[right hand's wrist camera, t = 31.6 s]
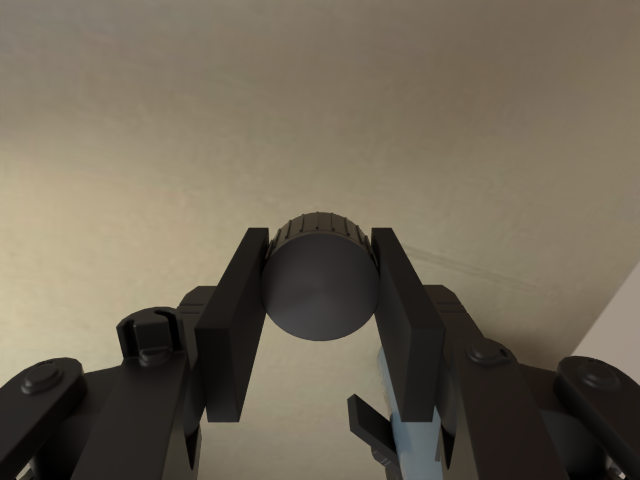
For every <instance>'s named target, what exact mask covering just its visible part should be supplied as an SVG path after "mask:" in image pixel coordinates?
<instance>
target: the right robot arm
mask: <svg viewBox="0 0 640 480" xmlns="http://www.w3.org/2000/svg"><path fill="white" fill-rule="evenodd" d="M268 247H269V229H268V228H248V230H247V232H246V234H245V236H244V237H243V239H242V241H241V243H240V245H239V247H238V248H237V250H236V252H235V254H234V256H233V258H232V260H231V261H230V263H229V265H228V267H227V269H226V271H225V272H224V274H223V276H222V278H221V280H220V282H219V283H218V285H217V286H198V287H196V288H195V289H193V290H192V291H190V292H189V293H187V294H186V295H185V297H184V298H183V300H182V301H181V303H180V304H179V306H178V307H177V308H176V309H174V308H171V307H153V308H147V309H143V310H140V311H138V312H135V313H132V314H131V315H129V316H127V317H126V318H124V319H123V320H122V321H121V322H120V323H119V324H118V325H117V326H116V329H117V333H118V337H119V341H120V346H121V350H122V354H123V358H124V360H123V362H122V364H121V365H120V366H116V367H112V368H108V369H103V370H98V371H94V372H89V373H84V371H83V368H82V364H81V363H80V362H79V361H77V360H76V359H72V358H67V357H65V358H54V359H50V360H47V361H42V362H39V363H37V364H35V365H33V366H31V367H29V368H27V369H24V370H23V371H22V372H20V373H19V374H17V375H16V376H14V377H13V378H12V379H10V380H9V381H8V382H7V383H6V384H5V385H4V386H2V387H1V388H0V480H16V477H17V475H18V474H19V473H20V472H21V471H22V469H23V468H24V467H25V466H26V465H27V463H28V462H29V464H30V467H31V468H30V469H29V470H28V471H27V473H26V474H25V475H24V476H23V477H22V478H20V479H19V480H197V475H198V466H199V457H200V448H201V440H202V436H201V429H200V423H199V422H200V420H201V417H202V414H203V411H204V409H205V406H206V412H207V419H208V422H239V420H240V416H241V412H242V408H243V404H244V400H245V396H246V392H247V388H248V384H249V380H250V376H251V372H252V368H253V364H254V360H255V356H256V352H257V348H258V344H259V340H260V336H261V332H262V328H263V324H264V320H265V316H266V311H265V309H264V307H263V304H262V299H261V284H260V276H261V272H262V269H263V266H264V263H265V260H264V259H265V256H266V253H267V250H268ZM371 247H372V249H373V252H374V255H375V258H376V261H377V263H378V266H379V268H378V271H379V274H380V289H379V303H378V306H377V308H376V310H375V312H374V315H375V319H376V323H377V327H378V331H379V335H380V339H381V343H382V347H383V351H384V355H385V359H386V363H387V367H388V371H389V375H390V379H391V383H392V387H393V391H394V395H395V399H396V403H397V407H398V411H399V415H400V419H401V422H432V420H433V414H434V407H435V406H436V409H437V412H438V414H439V417H440V420H441V423H440V429H439V435H438V442H437V448H436V454H435V461H437V462H440V456H441V465H442V474H443V480H640V386H639V385H638V384H637V383H636V382H635V381H634V380H632V379H631V378H630V377H629V376H627V375H626V374H625V373H623V372H622V371H620V370H619V369H617V368H616V367H614V366H611V365H609V364H607V363H605V362H603V361H601V360H597V359H594V358H590V357H583V356H570V357H565V358H564V359H563V360H561V361H560V362H559V366H558V369H557V372H554V371H549V370H545V369H540V368H535V367H530V366H527V365H523V364H519V363H518V361H517V359H516V357H515V356H514V355H513V353H512V352H511V351H510V350H509V349H507V348H506V347H505V346H503V345H502V344H500V343H498V342H495V341H493V340H491V339H487V338H485V337H484V336H483V334H482V333H481V331H480V330H479V328H478V327H477V326H476V324H475V323H474V321H473V320H472V318H471V317H470V315H469V314H468V313H467V312H466V309H465V308H464V306H463V305H461V302H460V301H459V299H458V298H457V296H456V295H455V293H453V292H452V291H450V290H449V289H447V288H446V287H445V286H443V285H422V283H421V281H420V279H419V277H418V276H417V274H416V272H415V270H414V268H413V266H412V265H411V263H410V261H409V259H408V257H407V255H406V254H405V252H404V250H403V248H402V246H401V244H400V243H399V241H398V239H397V237H396V235H395V233H394V231H393V230H392V228H372V233H371ZM612 460H613V462H614V463H615V464H616V465H617V466H618V467H619V469H620V470H621V471H622V472H623V473H624V475H625V476H626V477H625V478H624V479H622V478H621V477H619V476H618V475H617V474H616V472H615V471H614V470H613V469H612V468H611V466H610V465H611V463H612Z"/></svg>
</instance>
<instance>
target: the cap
mask: <svg viewBox="0 0 640 480" xmlns="http://www.w3.org/2000/svg"><path fill="white" fill-rule="evenodd" d="M264 260H265V263H264V266H263V269H262V272H261V276H260V284H261V299H262V304H263V307H264V309H265V311H266V313H267V314H268V315H269V317H270V318H271V319H272V321H273V322H274V323H275V324H276V325H278V326H279V327H280V328H281V329H283V330H284V331H286V332H287V333H289V334H291V335H293V336H296V337H299V338H302V339H306V340H312V341H329V340H335V339H339V338H342V337H345V336H347V335H349V334H352V333H353V332H355V331H357V330H358V329H359V328H361V327H362V326H363V325H364V324H365V323H366V322H367V321H368V320H369V319H370V318H371V316H372V315H373V313H374V312H375V310H376V308H377V306H378V303H379V289H380V274H379V271H378V268H379V266H378V263H377V261H376V258H375V255H374V252H373V249H372V247H371V245H370V242H369V239H368V236H367V235H366V236H365V234H364V233H363V232H362V230H361V229H360V228H359V226H358V225H355V224H354V223H353V222H351V221H350V220H348V219H347V218H346V217H345V218H344V217H342V216H339V215H336V214H333V213H325V212H316V213H309V214H305V215H304V214H302V216H299V217H297V218H295V219H293V220H289V222H288V223H287V224H285V225H284V226H283V227H282V228H281V229H279V230H278V232H277V234H276V236H275V237H274V239H273V240H271V242H270V245H269V247H268V250H267V253H266V256H265V259H264Z"/></svg>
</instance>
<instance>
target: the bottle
mask: <svg viewBox="0 0 640 480" xmlns="http://www.w3.org/2000/svg"><path fill="white" fill-rule="evenodd" d="M377 363H378V369H379V374H380V378H381V383H382V387H383V392H384V396H385V401H386V405H387V410H388V414H389V419H390V423H391V428H392V433H393V437H394V442H395V446H396V451H397V455H398V460H399V464H400V469H401V473H402V478H403V480H443V474H442V465H441V456H440V462H437V461H435V454H436V448H437V442H438V435H439V429H440V423H441V420H440V417H439V414H438V412H437V409H436V406H435V407H434V414H433V420H432V422H401V419H400V415H399V411H398V407H397V403H396V399H395V395H394V391H393V387H392V383H391V379H390V375H389V371H388V367H387V363H386V359H385V355H384V351H383V347H381V349H380V351H379V354H378V361H377Z"/></svg>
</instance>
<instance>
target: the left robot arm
mask: <svg viewBox="0 0 640 480" xmlns="http://www.w3.org/2000/svg"><path fill="white" fill-rule="evenodd" d="M347 402H348V412H349V422H350V431H351V432H353V433H354V434H355V435H357V436H358V437H359V438H361V439H362V440H363V441H365V442H366V443H367V444H368V445H370V446H371V451H372V455H373V457H374V459H375V460H377V461H378V462H379V463H381V464H382V465H384V466H385V467H386V468H385V471H386V477H387V480H403V478H402V473H401V469H400V464H399V460H398V455H397V451H396V446H395V442H394V437H393V433H392V428H391V423H390V422H389V421H388V420H387V419H386V418H384V417H383V416H382V415H381V414H379V413H378V412H377V411H376V410H374V409H373V408H372V407H371V406H369V405H368V404H367V403H366V402H365V401H363V400H362V399H361V398H360V397H358V396H357V395H356V394H354V395H352V396H351V397H350V398H348V399H347ZM610 466H611V468H612V469H613V470H614V471H615V472H616V474H617V475H620V474H621V472H622V471H621V470H620V469H619V467H618V466H617V465H616V464H615V463H614V462H613V460H612V463H611V465H610Z"/></svg>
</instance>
